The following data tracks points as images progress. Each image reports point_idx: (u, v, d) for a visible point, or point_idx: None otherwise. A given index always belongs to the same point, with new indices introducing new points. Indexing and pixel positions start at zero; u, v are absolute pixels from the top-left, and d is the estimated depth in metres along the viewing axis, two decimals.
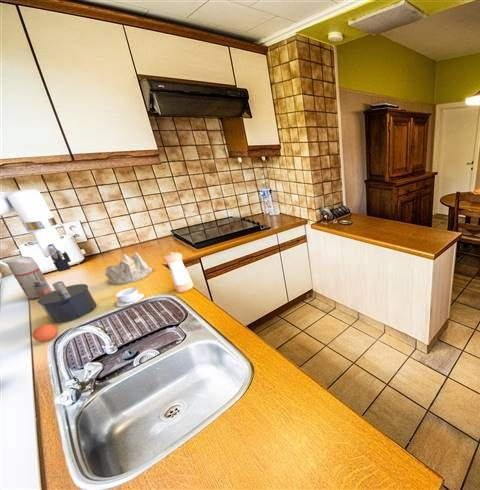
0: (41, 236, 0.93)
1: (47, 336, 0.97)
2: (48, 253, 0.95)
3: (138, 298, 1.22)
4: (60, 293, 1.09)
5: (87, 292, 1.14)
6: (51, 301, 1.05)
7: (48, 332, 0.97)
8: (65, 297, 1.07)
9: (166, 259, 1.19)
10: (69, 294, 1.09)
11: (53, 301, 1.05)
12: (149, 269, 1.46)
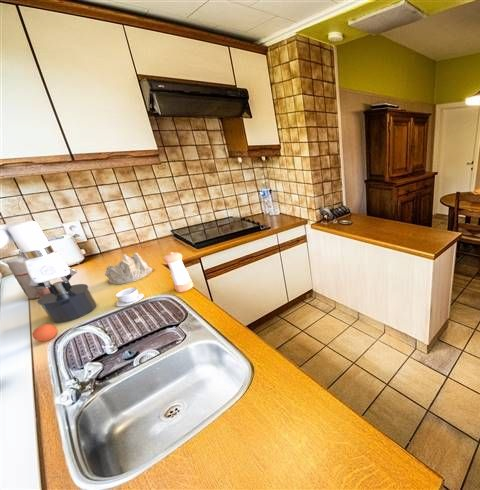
0: (59, 256, 1.07)
1: (47, 336, 0.97)
2: (67, 274, 1.09)
3: (138, 298, 1.22)
4: (60, 293, 1.09)
5: (87, 292, 1.14)
6: (51, 301, 1.05)
7: (48, 332, 0.97)
8: (65, 297, 1.07)
9: (166, 259, 1.19)
10: (69, 294, 1.09)
11: (53, 301, 1.05)
12: (149, 269, 1.46)
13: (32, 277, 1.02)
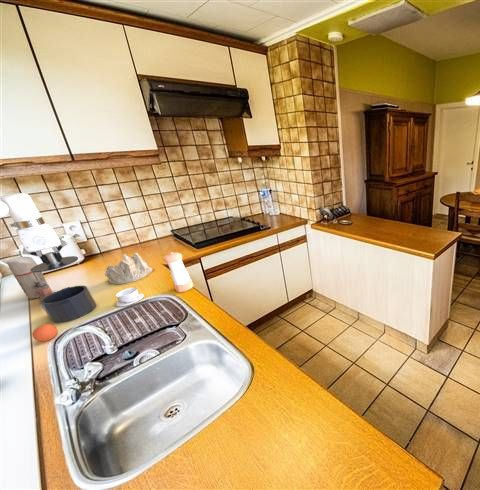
0: (50, 227, 1.14)
1: (47, 336, 0.97)
2: None
3: (138, 298, 1.22)
4: (51, 263, 1.17)
5: (87, 292, 1.14)
6: (43, 269, 1.13)
7: (48, 332, 0.97)
8: (56, 266, 1.15)
9: (166, 259, 1.19)
10: (60, 264, 1.17)
11: (45, 269, 1.13)
12: (149, 269, 1.46)
13: (25, 246, 1.09)
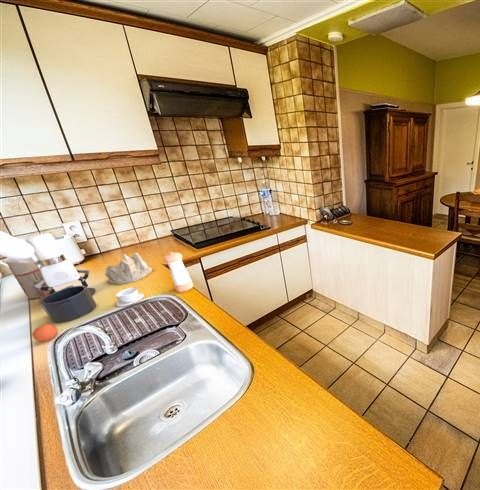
0: (70, 263, 1.21)
1: (47, 336, 0.97)
2: None
3: (138, 298, 1.22)
4: None
5: (87, 292, 1.14)
6: None
7: (48, 332, 0.97)
8: None
9: (166, 259, 1.19)
10: None
11: None
12: (149, 269, 1.46)
13: (47, 282, 1.16)
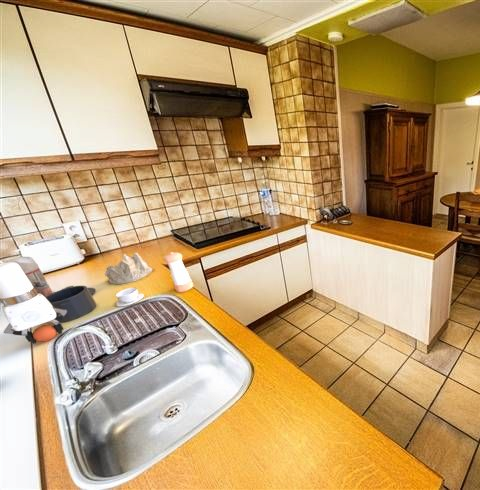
0: (44, 299, 0.96)
1: (47, 336, 0.97)
2: None
3: (138, 298, 1.22)
4: None
5: (87, 292, 1.14)
6: None
7: (48, 332, 0.97)
8: None
9: (166, 259, 1.19)
10: None
11: None
12: (149, 269, 1.46)
13: (13, 325, 0.91)
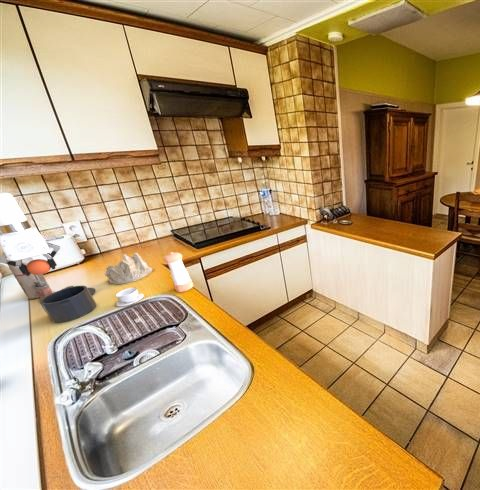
0: (38, 232, 0.99)
1: (40, 269, 1.00)
2: None
3: (138, 298, 1.22)
4: None
5: (87, 292, 1.14)
6: None
7: (42, 265, 1.01)
8: None
9: (166, 259, 1.19)
10: None
11: None
12: (149, 269, 1.46)
13: (7, 254, 0.94)
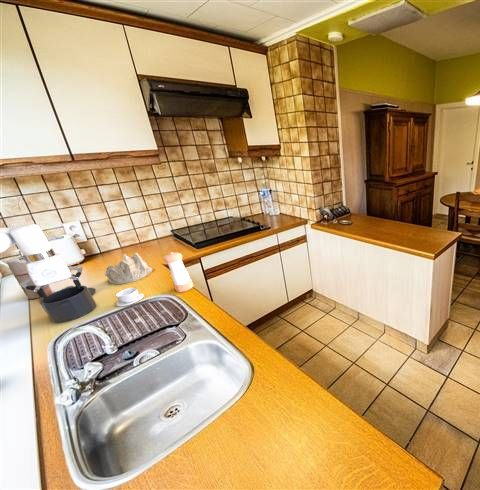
0: (61, 259, 1.07)
1: None
2: (70, 273, 1.10)
3: (138, 298, 1.22)
4: None
5: (87, 292, 1.14)
6: None
7: None
8: None
9: (166, 259, 1.19)
10: None
11: None
12: (149, 269, 1.46)
13: (34, 280, 1.02)
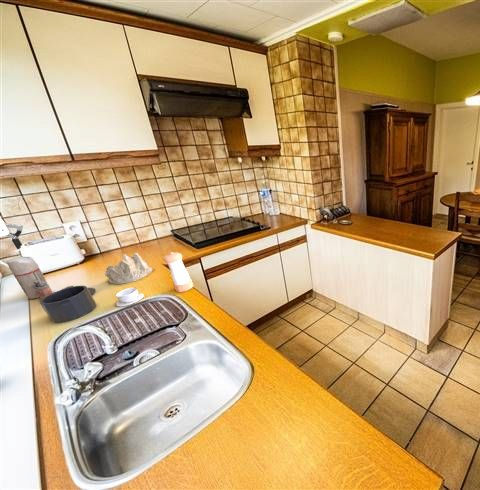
0: None
1: None
2: (8, 230, 1.01)
3: (138, 298, 1.22)
4: None
5: (87, 292, 1.14)
6: None
7: None
8: None
9: (166, 259, 1.19)
10: None
11: None
12: (149, 269, 1.46)
13: None
